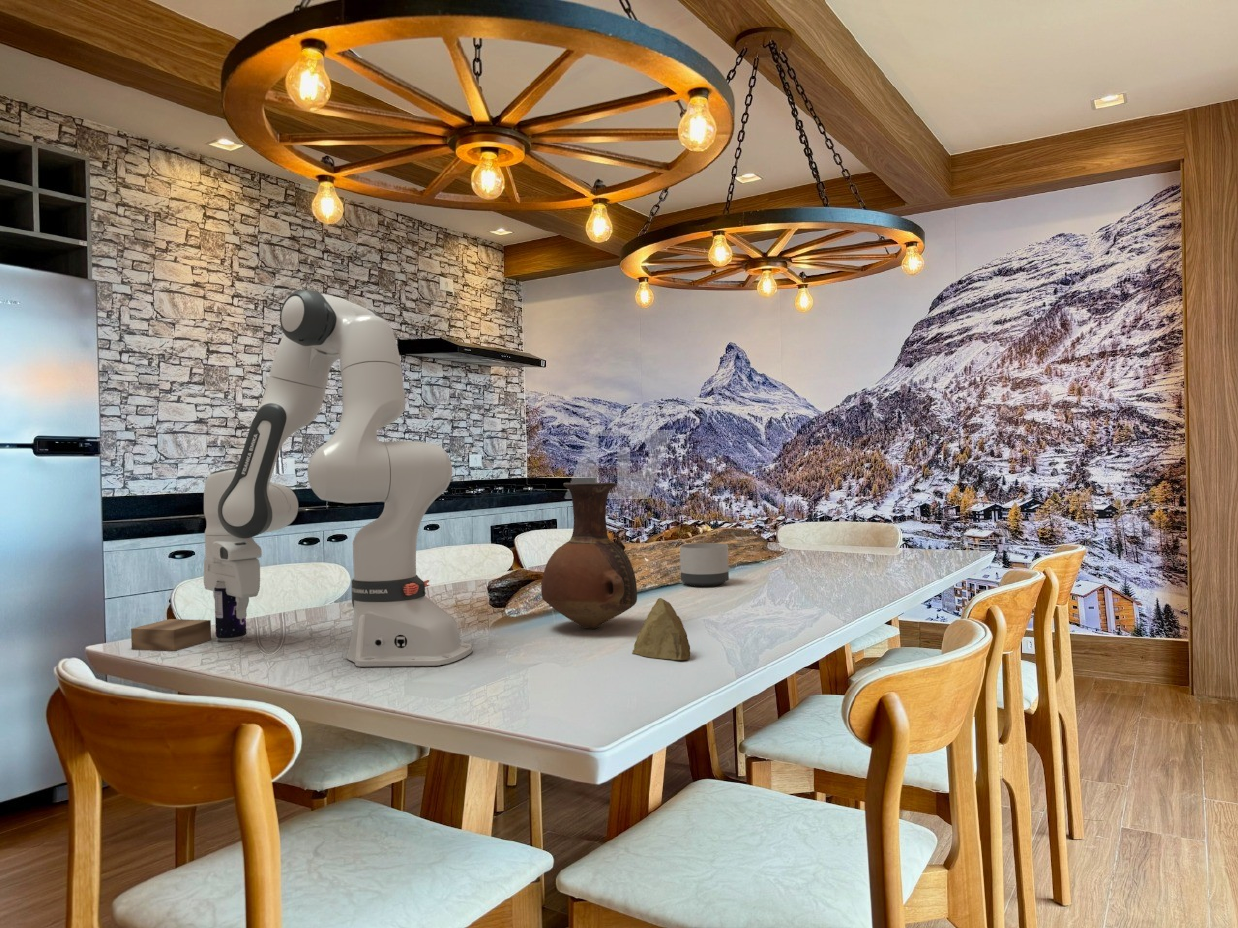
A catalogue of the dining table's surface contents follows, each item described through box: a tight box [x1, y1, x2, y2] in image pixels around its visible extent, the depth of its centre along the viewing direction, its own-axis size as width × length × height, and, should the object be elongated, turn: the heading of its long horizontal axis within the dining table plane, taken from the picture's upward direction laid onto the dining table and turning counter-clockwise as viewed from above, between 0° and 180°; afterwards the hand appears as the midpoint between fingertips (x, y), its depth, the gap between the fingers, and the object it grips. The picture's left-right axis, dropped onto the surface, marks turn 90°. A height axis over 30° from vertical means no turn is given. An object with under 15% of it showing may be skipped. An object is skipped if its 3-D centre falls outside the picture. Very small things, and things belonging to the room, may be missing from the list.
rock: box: [631, 597, 691, 661], centre depth 152 cm, size 11×9×10 cm
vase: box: [540, 482, 638, 630], centre depth 180 cm, size 25×20×30 cm
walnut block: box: [130, 618, 212, 652], centre depth 174 cm, size 10×10×4 cm
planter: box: [679, 542, 730, 588], centre depth 234 cm, size 13×13×10 cm
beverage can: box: [214, 581, 247, 643], centre depth 177 cm, size 6×6×12 cm
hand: (231, 615), depth 178 cm, fingers open, 8 cm apart
